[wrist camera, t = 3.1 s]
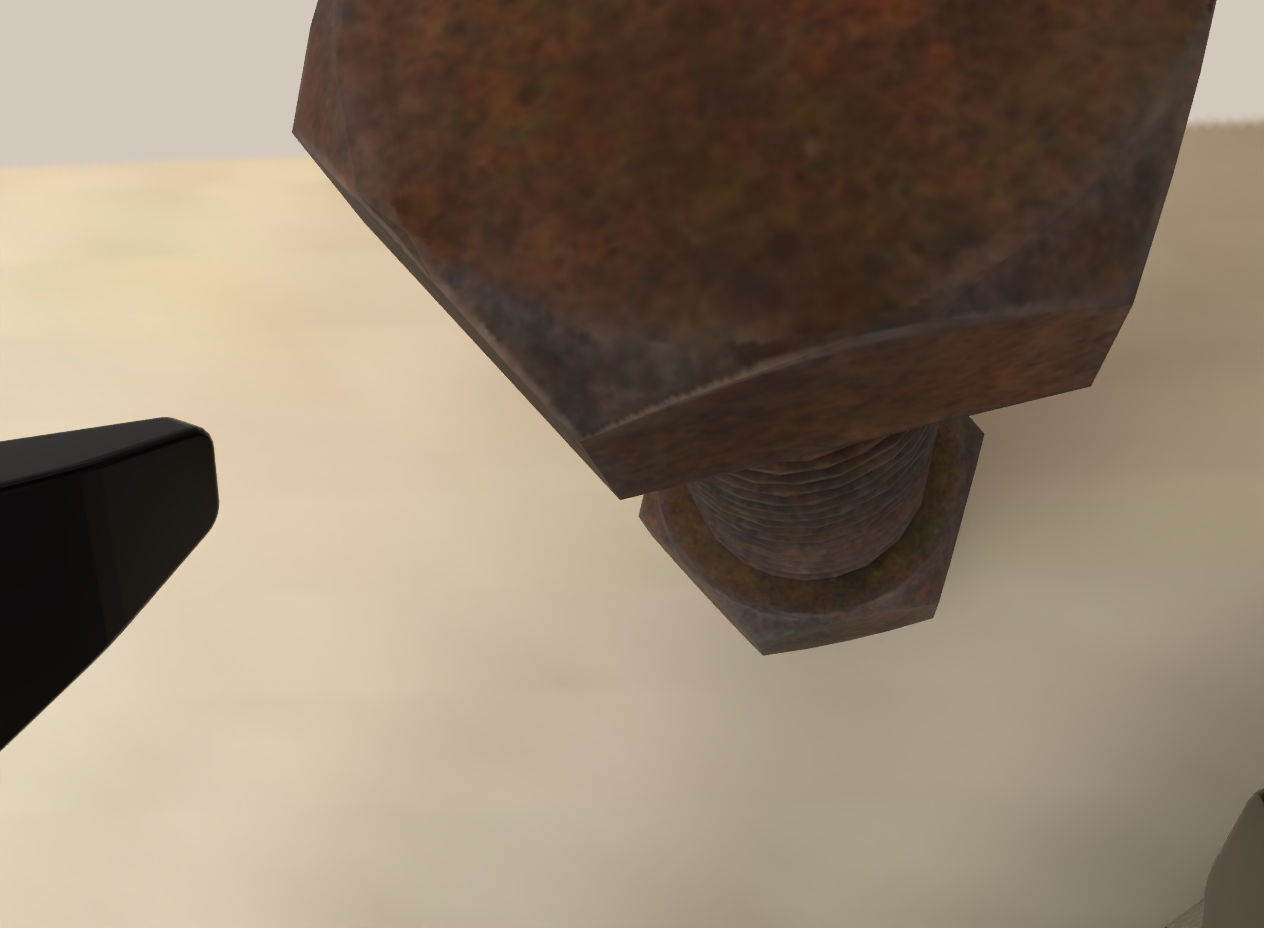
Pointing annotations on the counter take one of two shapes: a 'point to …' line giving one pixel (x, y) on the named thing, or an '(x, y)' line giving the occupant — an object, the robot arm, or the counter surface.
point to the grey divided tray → (1190, 918)
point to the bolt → (769, 246)
